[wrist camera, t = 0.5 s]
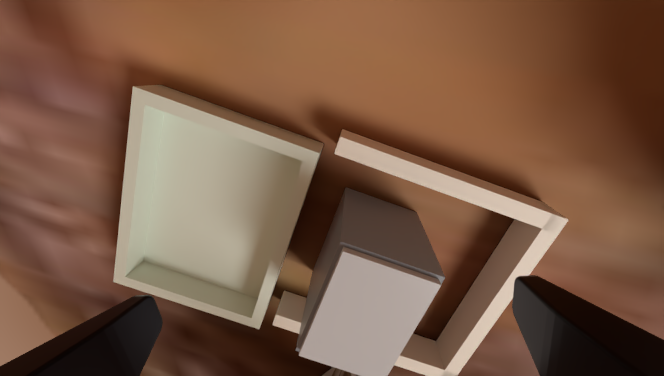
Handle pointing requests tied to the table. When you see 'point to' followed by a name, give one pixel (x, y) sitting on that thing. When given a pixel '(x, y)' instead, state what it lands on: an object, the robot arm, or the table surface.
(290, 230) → the tray
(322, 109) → the table surface
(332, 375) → the coffee box
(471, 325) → the bay
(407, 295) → the grey block
